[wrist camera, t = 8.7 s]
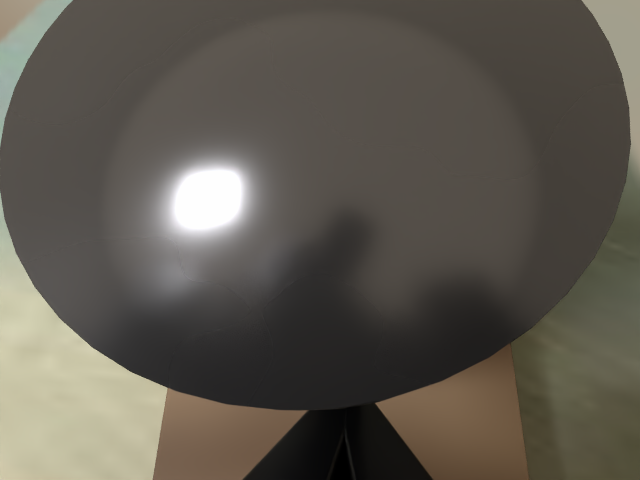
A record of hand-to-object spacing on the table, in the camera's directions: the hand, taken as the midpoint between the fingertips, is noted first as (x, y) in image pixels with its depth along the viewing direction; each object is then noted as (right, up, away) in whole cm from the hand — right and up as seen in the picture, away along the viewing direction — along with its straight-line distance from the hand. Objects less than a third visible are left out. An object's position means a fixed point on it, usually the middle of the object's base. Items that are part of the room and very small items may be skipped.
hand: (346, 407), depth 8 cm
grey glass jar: (0, 0, +6) cm, 6 cm away
